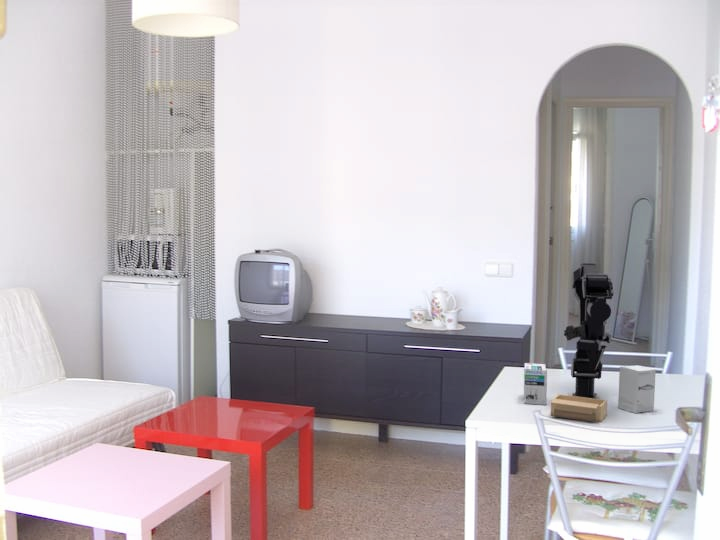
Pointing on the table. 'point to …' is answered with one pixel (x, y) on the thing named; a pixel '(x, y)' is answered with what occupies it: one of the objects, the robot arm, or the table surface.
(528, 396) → the light bulb box
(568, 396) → the carton
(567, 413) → the flap
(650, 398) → the supplement box
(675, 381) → the table surface
